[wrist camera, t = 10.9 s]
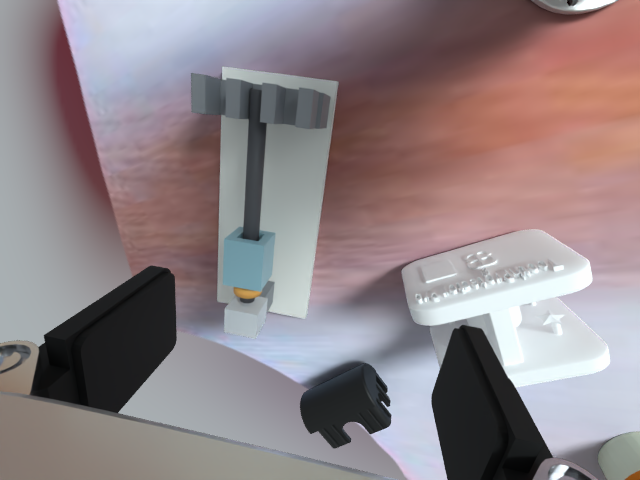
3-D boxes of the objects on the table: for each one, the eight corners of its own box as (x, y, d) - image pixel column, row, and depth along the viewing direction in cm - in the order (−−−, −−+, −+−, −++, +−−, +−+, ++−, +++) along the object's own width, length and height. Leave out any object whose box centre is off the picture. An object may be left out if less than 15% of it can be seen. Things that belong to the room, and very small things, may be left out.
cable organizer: (423, 331, 42) (441, 403, 32) (397, 258, 40) (407, 310, 29) (551, 300, 39) (622, 371, 28) (533, 218, 36) (604, 260, 25)
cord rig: (227, 68, 35) (180, 51, 27) (338, 82, 34) (327, 69, 25) (220, 297, 45) (185, 338, 36) (307, 314, 44) (291, 360, 35)
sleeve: (239, 226, 36) (224, 238, 32) (275, 232, 35) (264, 246, 31) (237, 268, 37) (222, 284, 34) (271, 274, 37) (260, 291, 33)
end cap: (363, 350, 45) (361, 387, 38) (391, 386, 46) (395, 429, 40) (305, 378, 48) (295, 418, 41) (333, 412, 49) (328, 455, 43)
